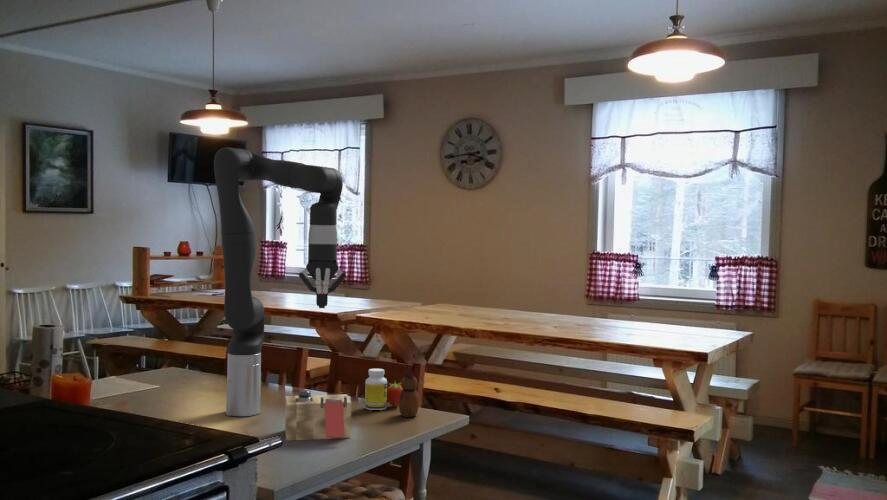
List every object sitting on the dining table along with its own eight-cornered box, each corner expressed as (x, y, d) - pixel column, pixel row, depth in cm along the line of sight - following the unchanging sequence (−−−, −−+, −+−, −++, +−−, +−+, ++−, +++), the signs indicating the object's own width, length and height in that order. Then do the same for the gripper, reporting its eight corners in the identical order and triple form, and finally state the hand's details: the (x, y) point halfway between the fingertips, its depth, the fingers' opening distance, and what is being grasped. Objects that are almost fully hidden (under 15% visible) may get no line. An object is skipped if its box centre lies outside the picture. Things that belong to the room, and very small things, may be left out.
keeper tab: (326, 437, 186) (326, 436, 185) (324, 400, 192) (324, 398, 191) (344, 436, 187) (344, 435, 186) (342, 399, 193) (342, 397, 192)
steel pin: (297, 436, 193) (299, 392, 193) (297, 433, 196) (298, 390, 196) (310, 436, 194) (311, 392, 194) (309, 432, 197) (310, 389, 197)
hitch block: (286, 442, 188) (287, 399, 188) (285, 430, 199) (285, 389, 199) (351, 439, 192) (352, 397, 192) (346, 427, 203) (347, 388, 203)
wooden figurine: (398, 413, 221) (399, 361, 221) (418, 413, 222) (419, 361, 221) (398, 418, 215) (399, 365, 214) (419, 418, 215) (420, 365, 215)
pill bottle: (383, 412, 222) (384, 372, 222) (362, 410, 223) (362, 371, 223) (389, 407, 229) (390, 368, 228) (368, 405, 230) (369, 367, 230)
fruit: (396, 409, 226) (396, 382, 226) (382, 407, 228) (382, 380, 228) (406, 406, 230) (407, 379, 230) (392, 403, 233) (393, 377, 233)
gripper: (346, 242, 207) (345, 306, 207) (296, 241, 204) (295, 306, 204) (349, 243, 199) (348, 309, 200) (298, 242, 196) (296, 309, 197)
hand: (321, 307), depth 202 cm, fingers closed
